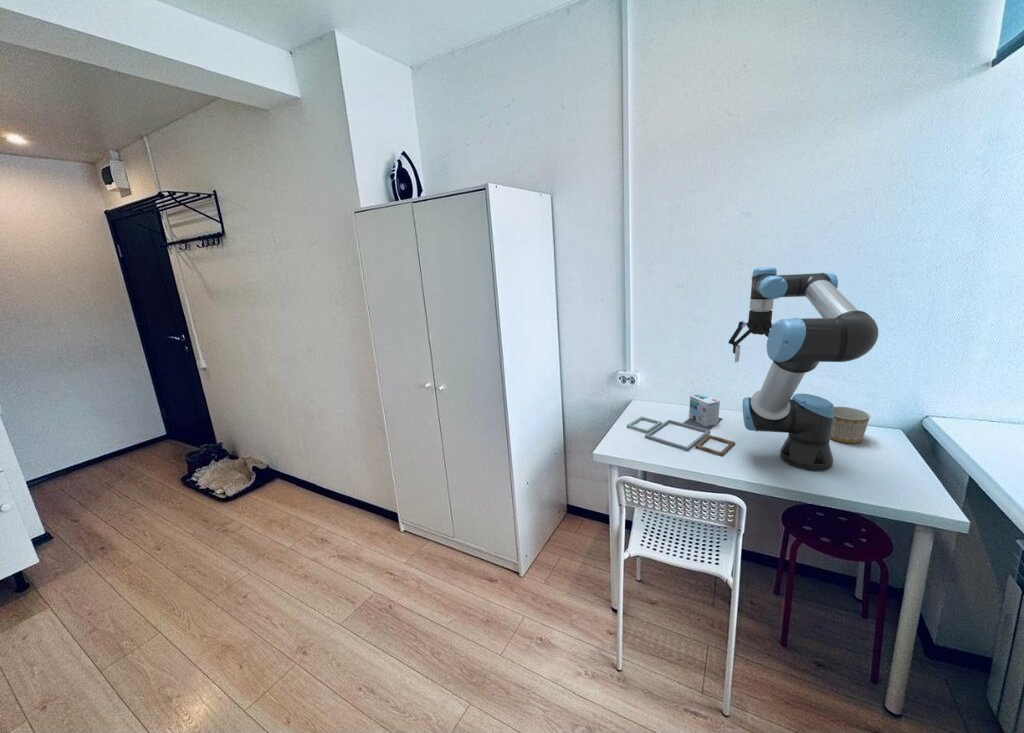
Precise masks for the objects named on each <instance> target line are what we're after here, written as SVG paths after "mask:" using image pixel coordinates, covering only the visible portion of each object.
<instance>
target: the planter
mask: <svg viewBox="0 0 1024 733" xmlns="http://www.w3.org/2000/svg"><path fill="white" fill-rule="evenodd" d="M870 418H871V415H870V414H869V413H868V412H866V411H864V410H861V409H858V408H853V407H847V406H834V418H833V424H832V429H831V436H830V440H832V441H835V442H838V443H843V444H852V445H854V444H855V445H856V444H859V443H862V441H863V440H864V436H865V433H866V431H867V427H868V425H869V424H868V423H869V421H870Z"/></svg>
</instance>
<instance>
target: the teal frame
mask: <svg viewBox="0 0 1024 733" xmlns="http://www.w3.org/2000/svg"><path fill="white" fill-rule="evenodd" d="M641 421H645V422H648V423H652V424H653V425H652V426H651V427H649V428H647V429H645V428H642V427H639V426H635V425H637V424H638V423H640V422H641ZM661 424H663V421H660V420H658V419H657V420H656V419H653V418H650V417H645V416H642V415H640V416H639V417H638V418H636V419H634V420H633V421H631V422H629V423H628V424H626V428H627V429H631V430H634V431H636V432H640V433H644V434H647V433H649V432H651V431H652V430H654V429H655V428H657V427H658V426H660V425H661Z"/></svg>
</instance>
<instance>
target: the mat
mask: <svg viewBox="0 0 1024 733" xmlns="http://www.w3.org/2000/svg"><path fill="white" fill-rule="evenodd" d="M721 421H723V418H722V417H719V419H718V424H719V423H720V422H721ZM682 423H684V424H688V425H691V426H695V427H699V428H703V429H707V430H710V431H711V429H712V428H714V427H715V426H716V425H711V426H707V427H705V426H703V425H702V424H700V423H698V422H696V421H694V420H692V419H690V418H689V417H688V419H686V420H685V421H683V422H682Z"/></svg>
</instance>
